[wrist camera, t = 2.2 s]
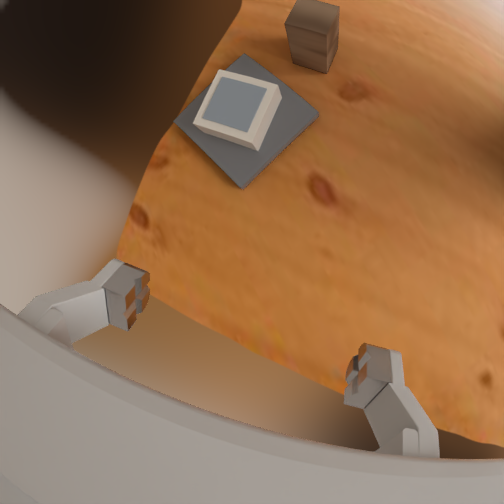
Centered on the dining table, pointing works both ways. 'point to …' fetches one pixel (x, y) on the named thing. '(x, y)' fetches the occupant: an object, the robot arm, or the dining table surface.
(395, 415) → the robot arm
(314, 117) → the base board
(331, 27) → the walnut column
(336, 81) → the dining table surface
